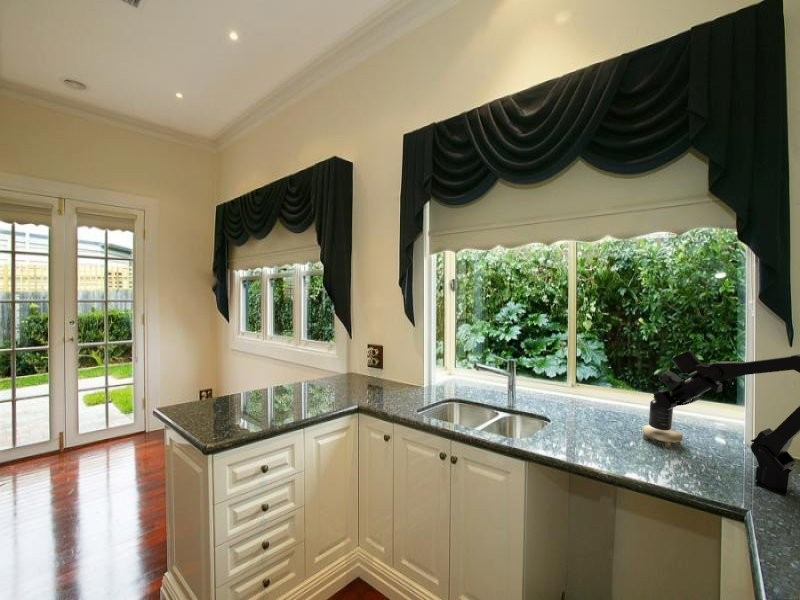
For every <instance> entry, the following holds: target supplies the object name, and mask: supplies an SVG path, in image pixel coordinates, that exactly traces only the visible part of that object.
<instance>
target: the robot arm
mask: <svg viewBox="0 0 800 600" xmlns="http://www.w3.org/2000/svg"><path fill="white" fill-rule="evenodd" d="M671 361H672V362H673V364H674V365H675V367H677V369H678V370H679V372H680V373H682V374H683V375H688V376H691V377H689V378H687V379H685V380H684V379H682V378H681V377H680V376H679V375H677V374H676V373H674V372H672V371H670V370H665V371H662V372H661V373H660V374H659V375H658V380H659V381H660V382H662V383H663V384H665V385H666V386H668V388H667V389H668V390H669V391H670V393H669V391H668V390H667V389H661V390H657V391H655V392H654V393H653V397H654V396H655V398H656V399H657V401H656V402H655V403H654V404H653V405H652V407H651V410H652V411H655V410H669V409H673V410H674V408H676V407H677V406H678V407H680V406H685V405H690V404H693V403H695V402H698V401H699V398H700V396H702V395H703V394H704V393H706V392H708V391H709V390H711V389H712V391H713V392H715V393H720V392H723V383H722V382H724V381H727V380H730V379H731V380H732V379H736V378H739V377H743V376H747V375H756V374H757V375H758V374H767V373H775V372H776V373H777V372H785V371H786V372H787V371H795V372H798V373H799V374H800V353H799V354H794V355H791V356H782V357H775V358H767V359H760V360H751V361H736V360H734V361H728V360H724V361H723V360H722V361H717V362H713V363H711V362H705V363H703V362H702V361H701V360H700V359H699V358H698V356H697V355H696V354H695V353H694V351H693V350H686V351H685V352H682V353H680V354H678V355H675V356H674V357H672V358H671ZM799 433H800V405H798V407H797V408H795V409H794V411H792V412H791V414H789V416H787V417H786V418H785V420H783V421H782V422H781V423H780V424H779V425H778V426H777V427H776V428H775V429H774V430H772V428H770V427H769V428H766V429H764V430H761V431H759V433H758V434H757V436H756V437H755V438H753V439H752V440H750V442H752V443H751V444H750V450H751V452H752V454H753V456H755V458H756V462H757V464H758V465H757V466H756V469H755V478H754V480H755V482H754V484H755V485H756V486H758V487H762V488H763V489H766V490H769V491H771V492H774V493H777V494H780V495H783V496H786V495H788V494H789V493H791V491H792V490H793V487H792V485H791V484H792V477H793V469H790V468H793V467H794V466H795V465H796V463H797V460H795V459H794V457H793V456H792V455H791V454H790V453H789V452H788V450H789V448H790V447H791V445H792V443H793V439H794V438H795V437H796V436H798V434H799Z"/></svg>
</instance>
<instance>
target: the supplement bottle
mask: <svg viewBox="0 0 800 600" xmlns="http://www.w3.org/2000/svg"><path fill="white" fill-rule="evenodd" d="M656 401H657V399H656V398H655V396H654V395H653V399H651V401H649V413H648V414H649V415H648V416H649V417H648V425H650V426H651V427H653V428H655V429H659V430H670V429H672V425H673V415H674V414H673V413H674V408H673V409H669V410H655V411H652V410H651V407H652V405H653V404H654V403H655V402H656Z"/></svg>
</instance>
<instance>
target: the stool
mask: <svg viewBox="0 0 800 600" xmlns="http://www.w3.org/2000/svg"><path fill="white" fill-rule="evenodd" d="M641 430H642V434H643V436H642V439H643V440H644V441H649V438H650V439H654V440H657V441H661V442H664V448H666V449H671V448H672V447H671V446H672V443H675V444H678V445H679V444H681V442H682V441H683V438H684V436H683V433H681V432H680V431H678V430H676V429H674V428H671V429H670V430H659V429H655V428H653V427H651V426H650V425H649V424H645V425H643V426H642V429H641Z"/></svg>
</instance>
